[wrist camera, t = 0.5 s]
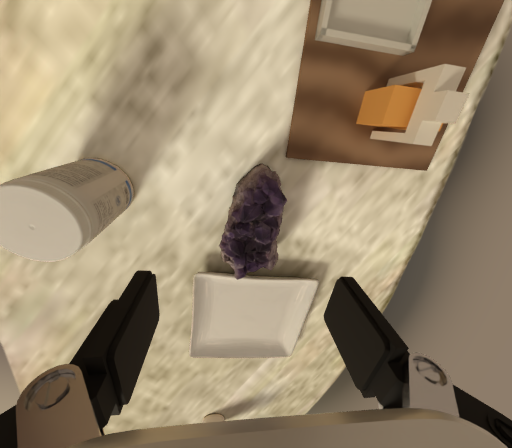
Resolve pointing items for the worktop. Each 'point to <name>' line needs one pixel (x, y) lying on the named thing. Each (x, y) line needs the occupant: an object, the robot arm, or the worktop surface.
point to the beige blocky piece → (429, 103)
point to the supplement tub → (61, 208)
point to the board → (377, 85)
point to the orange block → (389, 107)
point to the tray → (373, 24)
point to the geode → (253, 222)
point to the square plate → (248, 315)
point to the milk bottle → (213, 418)
